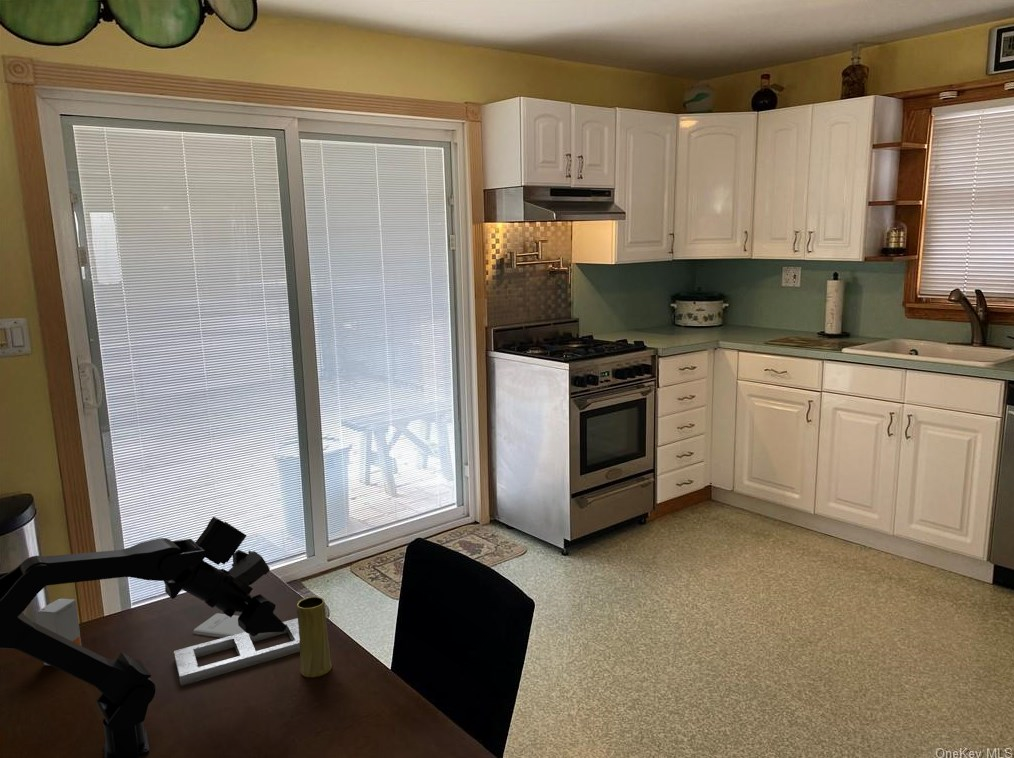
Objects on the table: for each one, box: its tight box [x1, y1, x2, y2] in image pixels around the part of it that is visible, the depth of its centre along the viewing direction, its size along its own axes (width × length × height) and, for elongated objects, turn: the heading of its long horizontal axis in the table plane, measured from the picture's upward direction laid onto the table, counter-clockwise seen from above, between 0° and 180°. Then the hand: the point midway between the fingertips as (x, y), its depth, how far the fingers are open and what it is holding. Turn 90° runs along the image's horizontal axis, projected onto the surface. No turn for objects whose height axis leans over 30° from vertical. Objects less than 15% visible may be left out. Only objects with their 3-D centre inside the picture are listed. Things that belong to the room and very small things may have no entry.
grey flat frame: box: [173, 617, 300, 687], centre depth 153 cm, size 11×26×2 cm, turn 120°
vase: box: [296, 596, 333, 678], centre depth 145 cm, size 6×6×14 cm
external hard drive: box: [193, 612, 245, 639], centre depth 164 cm, size 2×8×12 cm
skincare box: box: [36, 598, 82, 667], centre depth 152 cm, size 6×4×12 cm
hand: (274, 620), depth 139 cm, fingers open, 9 cm apart
